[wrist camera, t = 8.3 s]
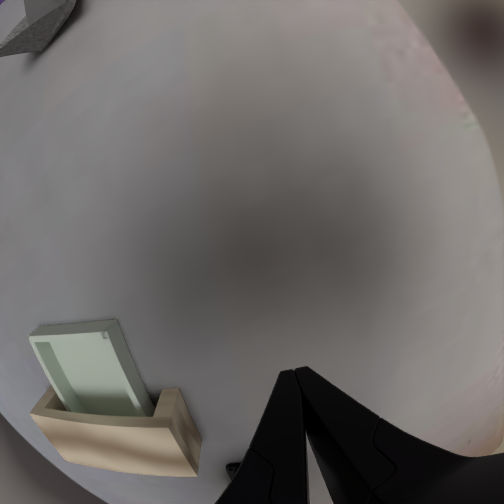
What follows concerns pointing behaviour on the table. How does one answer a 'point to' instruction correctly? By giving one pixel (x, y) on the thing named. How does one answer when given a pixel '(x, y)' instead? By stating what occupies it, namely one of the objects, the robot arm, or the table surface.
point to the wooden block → (124, 437)
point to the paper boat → (37, 26)
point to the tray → (92, 368)
